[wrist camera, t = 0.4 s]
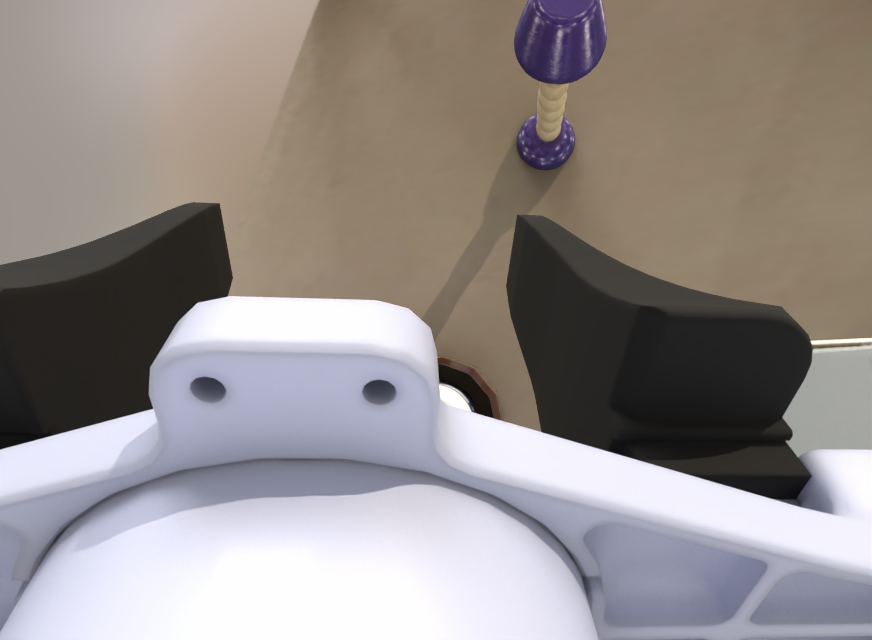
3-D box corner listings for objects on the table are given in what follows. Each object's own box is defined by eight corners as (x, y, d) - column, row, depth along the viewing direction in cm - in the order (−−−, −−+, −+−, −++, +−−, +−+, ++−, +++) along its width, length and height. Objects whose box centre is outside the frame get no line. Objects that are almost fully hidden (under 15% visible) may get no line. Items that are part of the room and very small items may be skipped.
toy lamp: (509, 172, 41) (517, 46, 24) (508, 111, 41) (515, -53, 25) (575, 168, 40) (628, 37, 24) (573, 107, 41) (624, -64, 24)
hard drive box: (617, 457, 39) (742, 562, 19) (608, 349, 39) (721, 342, 19) (852, 449, 37) (1260, 556, 17) (840, 336, 38) (1220, 314, 18)
